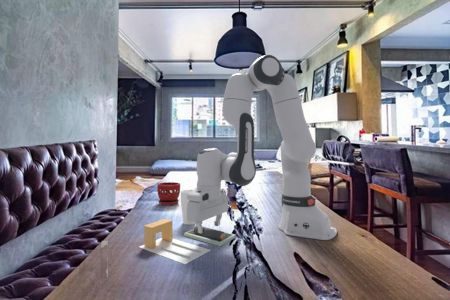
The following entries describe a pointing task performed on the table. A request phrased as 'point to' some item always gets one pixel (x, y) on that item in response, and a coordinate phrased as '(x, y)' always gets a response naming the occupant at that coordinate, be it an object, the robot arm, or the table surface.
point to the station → (177, 250)
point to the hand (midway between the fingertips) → (209, 228)
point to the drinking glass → (185, 205)
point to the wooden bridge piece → (157, 227)
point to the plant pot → (168, 193)
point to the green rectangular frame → (229, 235)
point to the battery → (210, 234)
